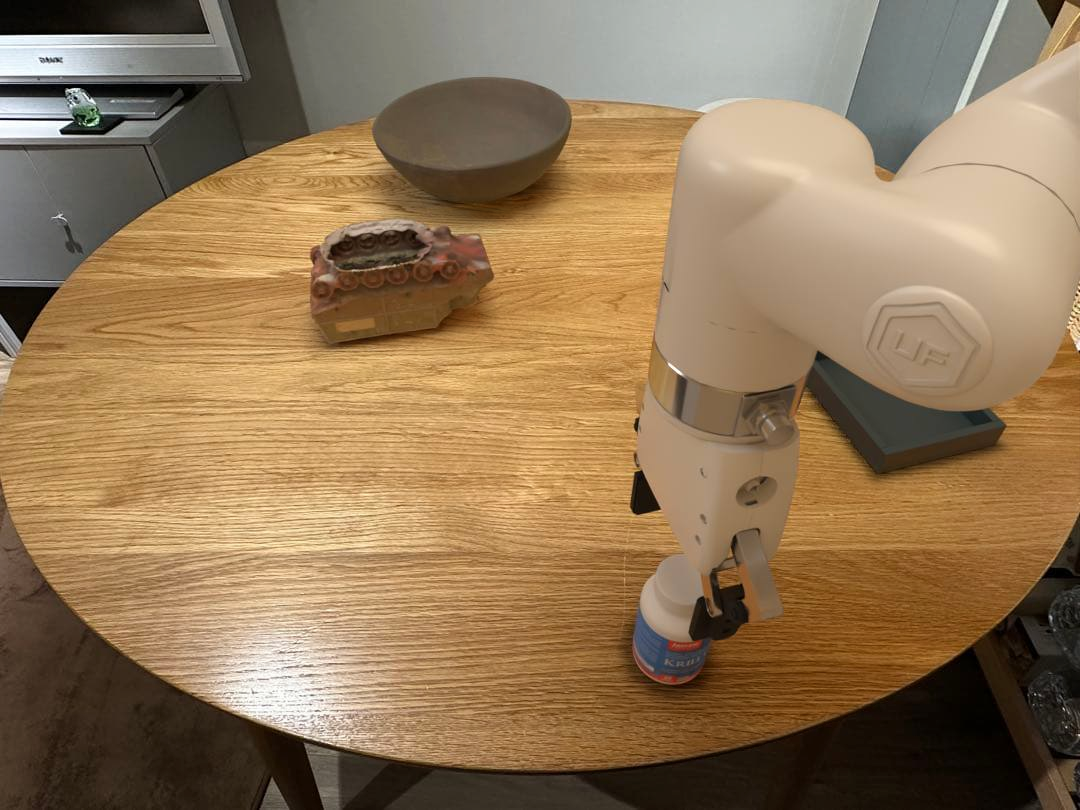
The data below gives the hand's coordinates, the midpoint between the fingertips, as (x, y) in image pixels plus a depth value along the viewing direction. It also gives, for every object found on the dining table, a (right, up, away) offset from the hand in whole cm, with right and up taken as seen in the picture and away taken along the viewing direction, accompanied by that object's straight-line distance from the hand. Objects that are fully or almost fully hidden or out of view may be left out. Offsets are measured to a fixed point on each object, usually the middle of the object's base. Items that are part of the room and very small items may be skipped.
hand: (681, 565), depth 50 cm
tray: (+25, +11, +26) cm, 38 cm away
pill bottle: (+1, -8, +8) cm, 11 cm away
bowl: (-18, +41, +59) cm, 74 cm away
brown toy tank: (-24, +21, +38) cm, 50 cm away
